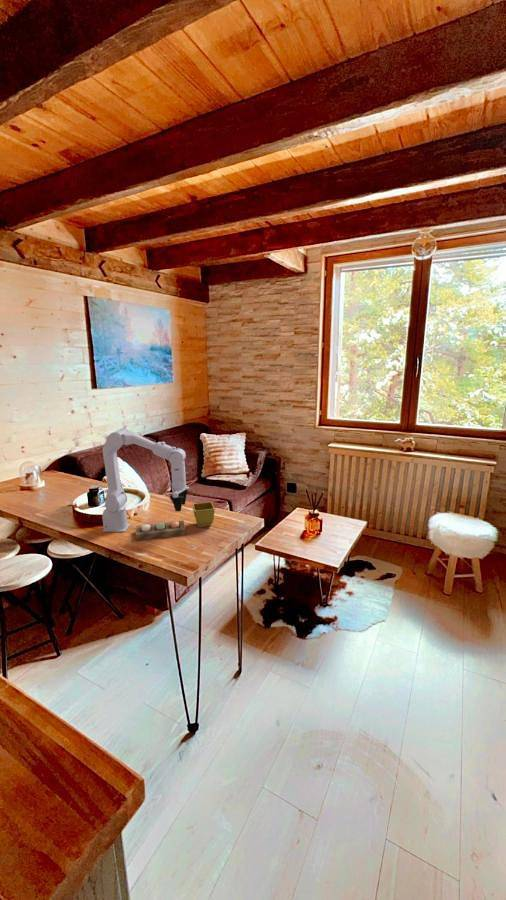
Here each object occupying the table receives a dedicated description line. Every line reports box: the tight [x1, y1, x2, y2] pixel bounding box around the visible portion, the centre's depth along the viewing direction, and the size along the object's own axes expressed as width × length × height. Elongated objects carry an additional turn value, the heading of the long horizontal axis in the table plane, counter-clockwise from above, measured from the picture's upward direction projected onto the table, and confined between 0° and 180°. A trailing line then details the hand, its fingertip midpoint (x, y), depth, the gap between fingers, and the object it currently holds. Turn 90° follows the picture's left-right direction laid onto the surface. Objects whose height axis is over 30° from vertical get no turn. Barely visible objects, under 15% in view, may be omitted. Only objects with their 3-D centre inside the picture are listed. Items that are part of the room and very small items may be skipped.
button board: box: [135, 520, 186, 542], centre depth 161 cm, size 20×9×2 cm, turn 105°
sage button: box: [155, 522, 166, 530], centre depth 161 cm, size 4×4×2 cm
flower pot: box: [192, 501, 216, 528], centre depth 168 cm, size 9×9×9 cm
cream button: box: [140, 523, 151, 532], centre depth 159 cm, size 4×4×2 cm
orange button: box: [170, 520, 179, 529], centre depth 162 cm, size 4×4×2 cm
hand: (180, 507), depth 162 cm, fingers open, 7 cm apart
